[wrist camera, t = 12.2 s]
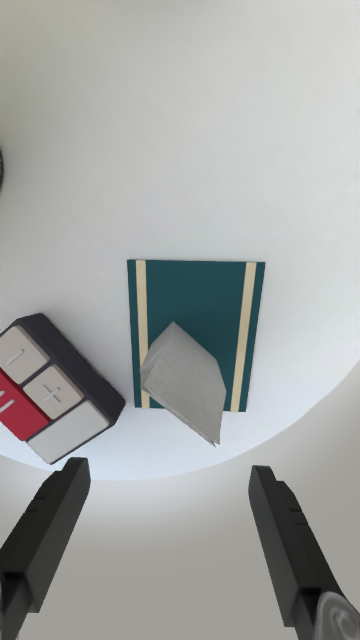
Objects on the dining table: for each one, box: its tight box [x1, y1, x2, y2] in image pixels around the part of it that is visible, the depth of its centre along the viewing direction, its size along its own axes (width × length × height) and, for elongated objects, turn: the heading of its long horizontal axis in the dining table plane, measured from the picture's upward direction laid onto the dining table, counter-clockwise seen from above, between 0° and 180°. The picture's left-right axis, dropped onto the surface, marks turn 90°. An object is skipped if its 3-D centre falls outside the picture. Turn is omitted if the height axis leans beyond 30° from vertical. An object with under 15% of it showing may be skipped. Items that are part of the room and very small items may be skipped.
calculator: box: [0, 313, 125, 465], centre depth 23 cm, size 11×4×15 cm
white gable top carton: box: [140, 321, 226, 447], centre depth 17 cm, size 4×7×10 cm, turn 47°
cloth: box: [127, 260, 265, 412], centre depth 22 cm, size 14×18×1 cm
